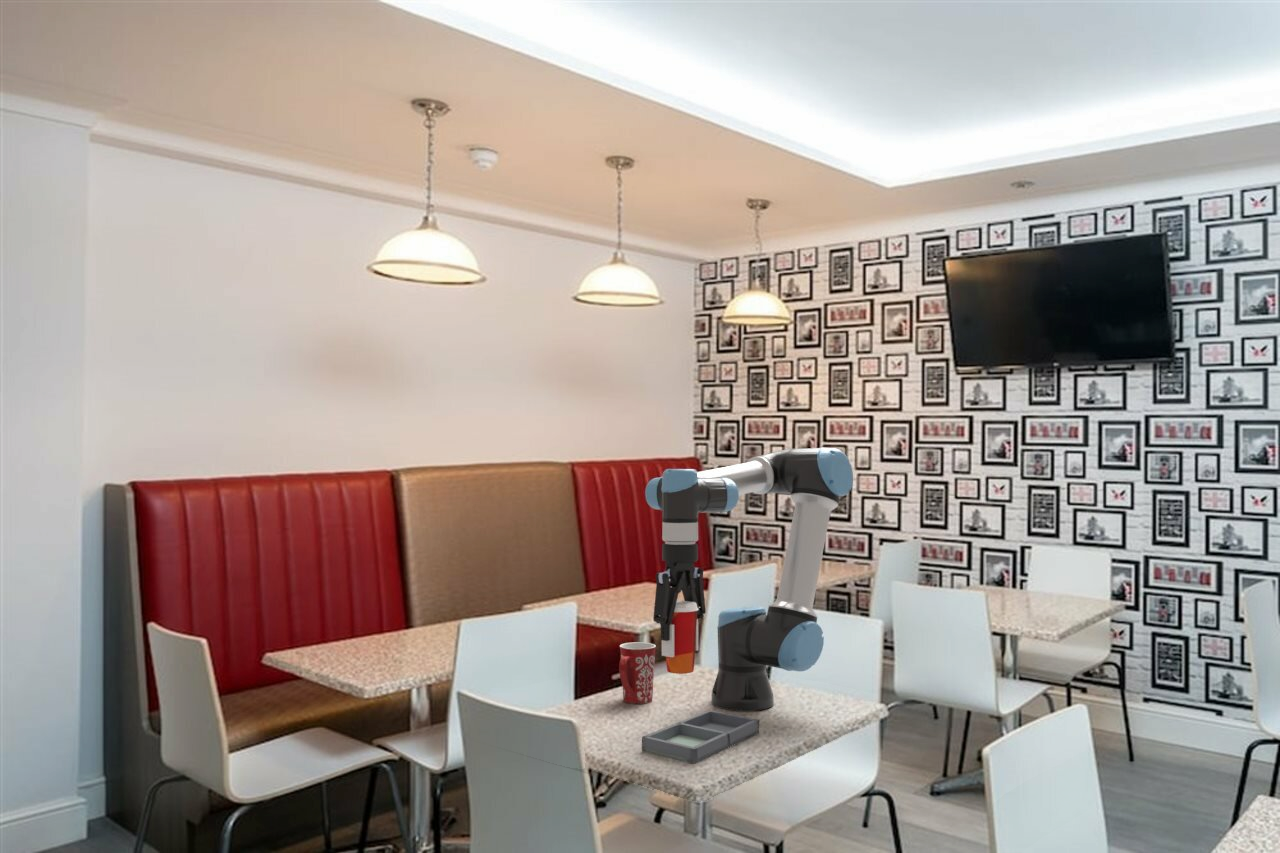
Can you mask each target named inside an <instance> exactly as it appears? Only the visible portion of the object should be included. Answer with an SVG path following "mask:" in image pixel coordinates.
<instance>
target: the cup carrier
mask: <svg viewBox="0 0 1280 853" xmlns="http://www.w3.org/2000/svg"><path fill="white" fill-rule="evenodd" d="M758 734H760V719H757V718H751V717H747V716H741V715H737V714H733V713H732V714H731V713H728V712H721V711H716V710H711V709H708V710H705V711H703V712H700V713H698V714H696V715H694V716H691V717H687V718H685V719H683V720H681V721H678V722H675V723H673V724H671V725H668V726H665V727H663V728H660V729H657V730H655V731H652V732H650V733H647V734H645V735H643V736H641V751H642V752H645V753H649V754H654V755H658V756H662V757H665V756H666V757H665V758H669V757H670V758H669V759H673V758H674V759H675V760H677V759H678V761H681V760H683V761H682V762H685V761H686V763H689V762H690V763H689V764H694V765H695V764H697V763H699V762H701V761H703V760H706V759H707V757H708V758H709V756H710V757H712V756H714V755H716V754H718V753H720V752H722V751H724V750H726V749H729V748H731V747H733V746H735V745H737V744H740V743H741V742H744V741H745V740H747V739H750V738H753V737H754V736H756V735H758ZM734 744H735V745H734ZM732 745H733V746H732ZM730 746H731V747H730ZM728 747H729V748H728ZM721 750H722V751H721ZM719 751H720V752H719ZM717 752H718V753H717ZM715 753H716V754H715ZM713 754H714V755H713ZM711 755H712V756H711ZM700 760H701V761H700ZM698 761H699V762H698ZM696 762H697V763H696Z"/></svg>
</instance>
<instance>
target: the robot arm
mask: <svg viewBox="0 0 1280 853" xmlns="http://www.w3.org/2000/svg"><path fill="white" fill-rule="evenodd" d="M853 483H854V474H853V468H852V464H851V463H850V459H849V457H848V456H847V455H846V454H845V453H844V452H843V451H842V450H841V449H838V448H833V447H832V448H830V447H815V448H813V447H811V448H808V447H807V448H805V447H804V448H786V449H785V448H784V449H781V450H777V451H773V452H769V453H765V454H762V455H758V456H757V455H756V456H754V457H753V456H752V457H750V458H749V459H748V460H747V461H746V462H743V463H737V464H732V465H727V466H723V467H716V468H712V469H707V470H701V471H697V469H694V468H666V469H665V470H664V471H663V473H662V476H661V477H655V478H652V479H650V480H649V482H648V483H647V484H646V486H645V492H644V493H645V501H646V503H647V504H648V506H649V507H650V508H652V509H653V510H660V511H661V514H662V515H661V517H662V518H661V520H662V534H661V535H662V536H661V540H662V542H664V543H662V545H661V550H662V551H661V559H662V560H661V561H663V562H665V569H664V571H663V572H656V573H655V582H656V587H655V588H656V589H655V598H654V607H653V616H652V617H653V622H655V623H656V624H660V640H661V656H662V657H666V656H667V657H674V624H671V623H672V619H673V614H674V610H675V606H676V602H677V601H678V597H679V594H680V593H681V592H682V596H683V601H690V602H696V603H697V608H698V609H699V610H698V611H697V624H696V643H695V652H697V651H699V632H700V619H702V620H703V619H704V617H705V616H704V615H706V610H707V609H706V601H705V591H704V580H703V578H704V568H702V567H695V563H696V562H697V561H698V560H699V546H698V544H697V543H696V542H698V541H699V514H701V513H702V514H703V513H705V514H707V513H708V514H709V513H710V514H711V513H720V514H721V513H724V512H730V511H732V510H734V509H735V507H736V506H737V504H738V502H739V500H740V499H739V496H743V495H746V494H750V493H754V494H755V495H766V494H784V495H790V498H791V500H792V501H793V503H794V509H793V510H794V511H793V515H792V521H791V525H790V531H789V536H788V540H787V544H786V545H787V547H786V550H785V556H784V560H783V567H782V570H781V571H782V572H781V575H780V581H779V586H778V591H777V594H776V595H777V596H776V599H775V601H774V602H772V603H771V604H769V605H768V609H767V611H766V609H765V607H763V606H747V607H746V606H745V607H744V606H743V607H736V608H733V607H732V608H726V609H724V610H722V611H720V612H719V614H718V620H717V652H718V654H717V655H718V658H717V659H718V660H717V662H718V664H717V665H718V671H717V674H716V677H715V681H714V685H713V687H712V691H711V704H712V705H713V706H715V707H718V708H720V709H722V710H723V709H724V710H728V711H729V710H731V711H740V712H751V711H753V712H754V711H760V710H761V711H762V710H767V709H769V708H771V707H773V706H774V702H775V701H774V698H775V697H774V693H773V689H772V686H771V683H770V682H771V681H769V677H768V674H767V666H768V667H772V668H777V669H781V670H784V671H787V672H791V671H794V672H805V671H807V670H809V669H811V668H812V667H813V666H814V665H815V664H816V663H818V660H819V659H820V657H821V654H822V651H823V648H824V642H825V640H824V638H825V637H824V635H823V633H824V631H823V629H822V627H821V626H820V625H819V624H818V623H817V622H818V615H817V613H816V612H815V611H814V608H813V607H814V601H815V597H816V591H817V587H818V586H817V585H818V580H819V575H820V570H821V565H822V558H823V553H824V549H825V548H824V547H825V543H826V542H825V541H826V538H827V532H828V526H829V522H830V517H831V516H830V515H831V512H832V511H833V510H835V509H837V508H838V507H839V504H840V499H841V498H840V497H844V496H847V495H848V494H849V492H851V490H852V487H853Z"/></svg>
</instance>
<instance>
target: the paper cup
mask: <svg viewBox="0 0 1280 853" xmlns="http://www.w3.org/2000/svg"><path fill="white" fill-rule="evenodd" d="M698 610H699V609H698V608H697V603H696V602H690V601H685V600H677V602H676V606H675V610H674V614H673V619H672V623H671V624H674V657H667V656H665V662H666V670H667V672H668V673H670V674H676V675H679V674H681V675H682V674H683V675H685V674H690V673H693V672H694V671H695V670H694V669H695V659H696V658H695V655H696V651H695V643H696V624H697V611H698Z"/></svg>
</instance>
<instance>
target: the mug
mask: <svg viewBox="0 0 1280 853" xmlns="http://www.w3.org/2000/svg"><path fill="white" fill-rule="evenodd" d="M656 648H657V645H656V644H654V643H651V642H644V641H643V642H641V641H640V642H639V641H636V642H625V643H621V644H620V645H619V649H620V660H619V664H618V672H619V678H620V681H621V685H622V698H623V701H624V702H625V703H628V702H629V703H628V704H635V703H640V704H647V702H648V703H650V702H653V696H654V694H653V692H654V675H655V674H654V673H655V661H656V659H655V658H656V657H655V656H656Z"/></svg>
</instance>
